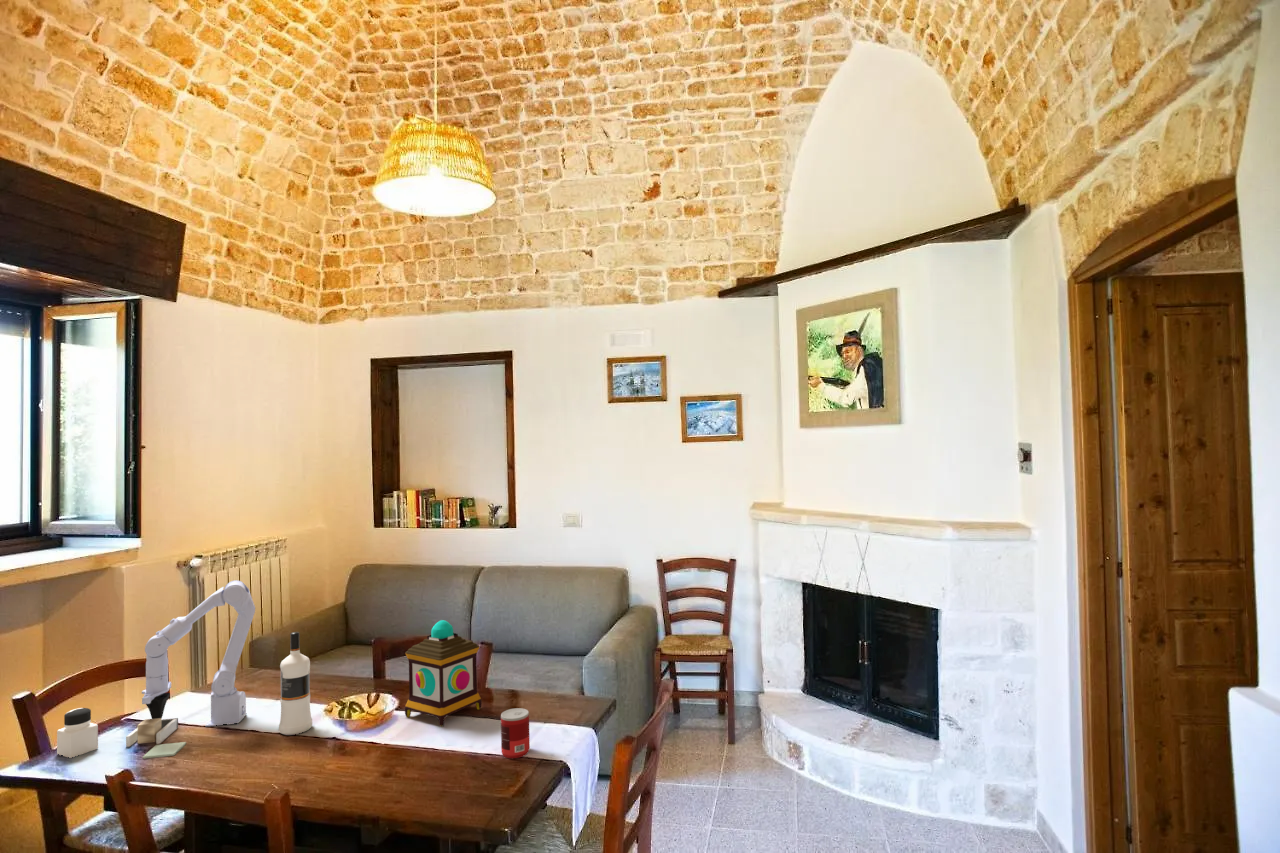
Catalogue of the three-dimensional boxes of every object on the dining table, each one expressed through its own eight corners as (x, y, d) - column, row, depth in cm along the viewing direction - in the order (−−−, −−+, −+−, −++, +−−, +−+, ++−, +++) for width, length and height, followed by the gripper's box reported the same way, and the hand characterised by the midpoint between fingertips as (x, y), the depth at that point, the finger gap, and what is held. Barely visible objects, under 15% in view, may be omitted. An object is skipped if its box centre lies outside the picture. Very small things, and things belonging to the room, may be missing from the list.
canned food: (534, 748, 198) (533, 709, 199) (520, 760, 191) (520, 720, 191) (510, 745, 201) (510, 706, 201) (496, 757, 193) (495, 717, 194)
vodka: (311, 732, 213) (310, 634, 214) (277, 738, 210) (276, 637, 210) (313, 722, 222) (311, 627, 223) (280, 727, 218) (279, 630, 219)
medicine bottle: (98, 748, 205) (98, 707, 206) (70, 758, 199) (70, 716, 199) (84, 744, 208) (84, 704, 209) (56, 754, 202) (56, 712, 202)
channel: (178, 727, 220) (177, 718, 220) (160, 743, 208) (160, 733, 208) (145, 730, 218) (145, 721, 218) (126, 746, 206) (126, 736, 206)
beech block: (161, 736, 214) (161, 717, 214) (154, 742, 209) (154, 723, 209) (145, 737, 213) (144, 719, 213) (137, 743, 208) (137, 725, 208)
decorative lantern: (488, 708, 230) (486, 616, 230) (441, 730, 213) (439, 631, 214) (445, 698, 240) (444, 610, 241) (398, 717, 224) (396, 623, 224)
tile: (186, 743, 207) (186, 741, 207) (174, 755, 199) (174, 753, 199) (156, 746, 206) (156, 744, 206) (142, 758, 198) (142, 756, 198)
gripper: (153, 669, 223) (153, 712, 222) (130, 683, 208) (130, 729, 208) (178, 667, 224) (178, 709, 224) (157, 681, 210) (157, 727, 209)
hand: (157, 719), depth 216 cm, fingers closed
